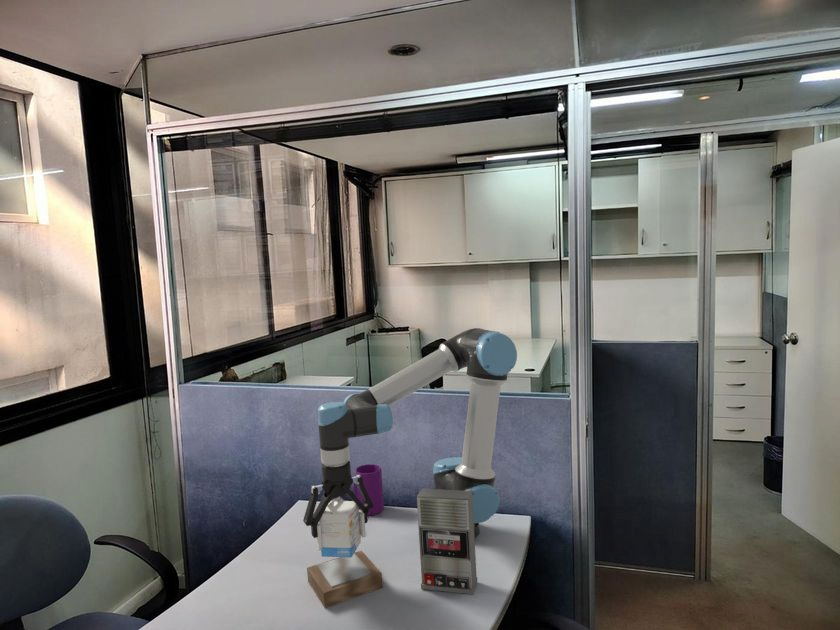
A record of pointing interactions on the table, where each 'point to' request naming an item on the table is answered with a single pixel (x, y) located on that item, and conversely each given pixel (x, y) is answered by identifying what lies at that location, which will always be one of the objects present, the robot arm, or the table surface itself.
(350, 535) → the ink box
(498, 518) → the table surface
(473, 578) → the cassette tape recorder
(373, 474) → the mug
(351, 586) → the walnut base
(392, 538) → the table surface
